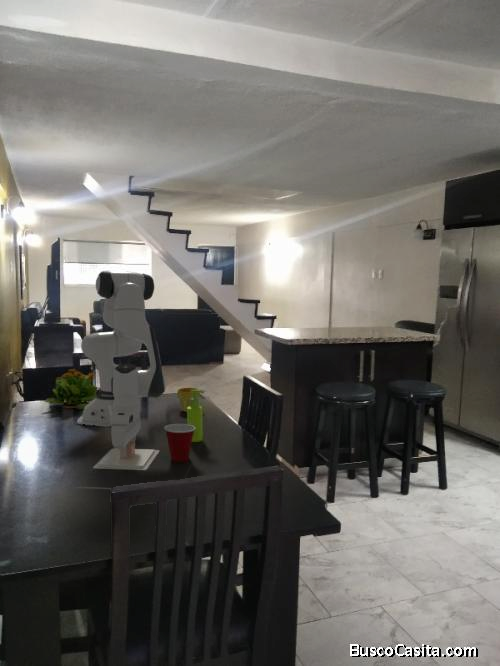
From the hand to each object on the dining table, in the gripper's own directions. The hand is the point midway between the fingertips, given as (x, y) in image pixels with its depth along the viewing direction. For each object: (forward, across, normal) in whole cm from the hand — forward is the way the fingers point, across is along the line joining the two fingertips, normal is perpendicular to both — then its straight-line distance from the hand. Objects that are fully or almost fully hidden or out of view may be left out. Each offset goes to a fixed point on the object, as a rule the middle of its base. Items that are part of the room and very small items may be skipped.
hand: (127, 451), depth 173 cm
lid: (+3, 0, 0) cm, 3 cm away
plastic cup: (+3, -2, +18) cm, 18 cm away
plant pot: (+3, -63, +9) cm, 64 cm away
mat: (+3, 0, 0) cm, 3 cm away
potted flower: (+3, -64, -48) cm, 80 cm away
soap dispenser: (+3, -22, +20) cm, 30 cm away
